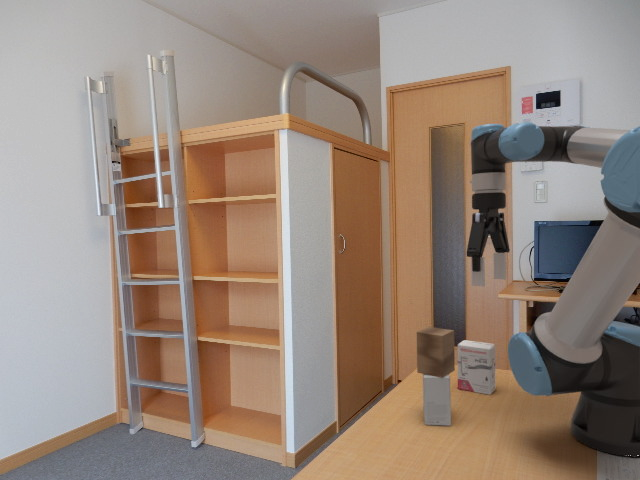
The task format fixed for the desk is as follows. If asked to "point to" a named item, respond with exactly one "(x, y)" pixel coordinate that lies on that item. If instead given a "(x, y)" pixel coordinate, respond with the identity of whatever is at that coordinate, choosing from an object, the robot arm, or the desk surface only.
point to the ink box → (476, 366)
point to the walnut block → (435, 352)
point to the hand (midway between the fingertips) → (489, 282)
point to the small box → (436, 400)
